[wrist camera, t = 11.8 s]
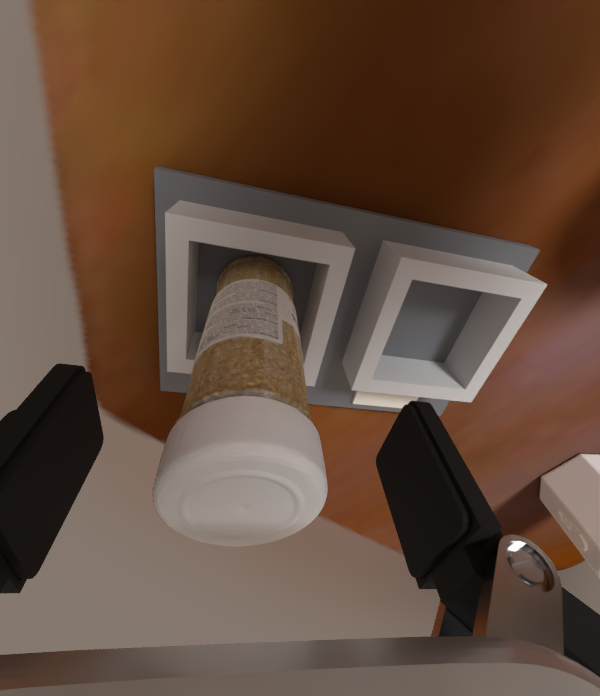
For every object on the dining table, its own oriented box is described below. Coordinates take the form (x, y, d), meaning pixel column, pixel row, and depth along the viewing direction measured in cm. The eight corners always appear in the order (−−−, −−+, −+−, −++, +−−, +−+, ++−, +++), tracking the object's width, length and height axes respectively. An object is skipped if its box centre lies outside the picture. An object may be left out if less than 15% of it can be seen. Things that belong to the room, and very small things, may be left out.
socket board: (159, 166, 16) (132, 175, 13) (529, 245, 20) (580, 267, 17) (163, 381, 24) (147, 422, 20) (435, 407, 28) (458, 444, 25)
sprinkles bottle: (289, 325, 21) (317, 550, 10) (216, 321, 20) (160, 557, 9) (296, 255, 18) (345, 453, 7) (214, 248, 18) (131, 453, 7)
